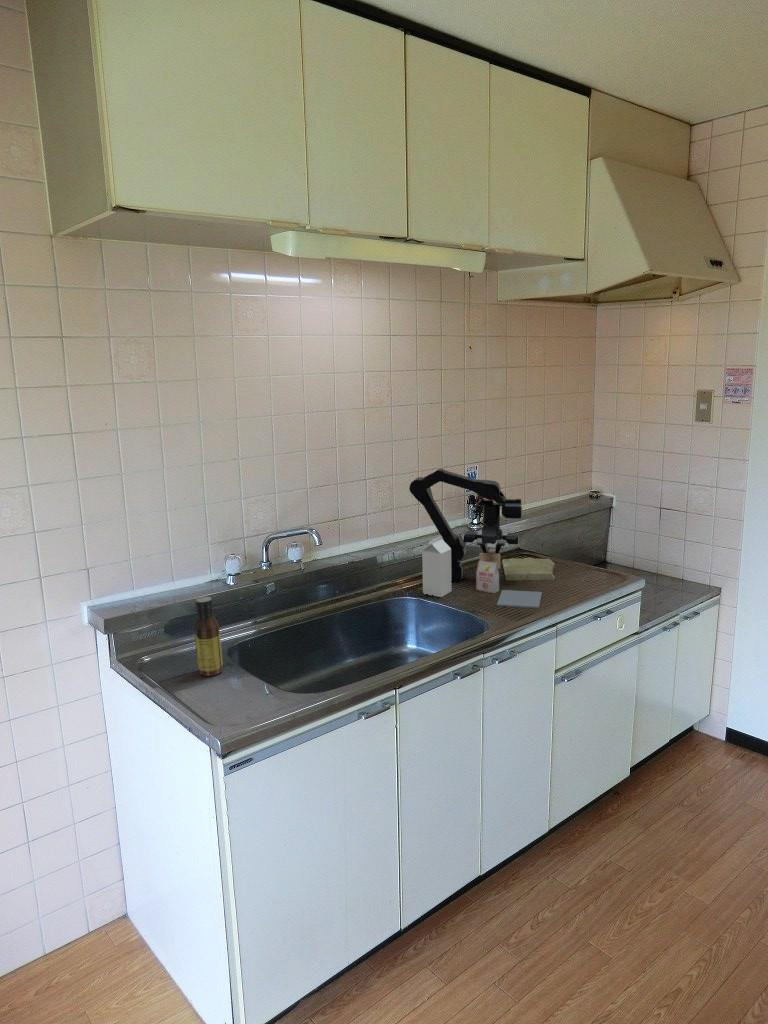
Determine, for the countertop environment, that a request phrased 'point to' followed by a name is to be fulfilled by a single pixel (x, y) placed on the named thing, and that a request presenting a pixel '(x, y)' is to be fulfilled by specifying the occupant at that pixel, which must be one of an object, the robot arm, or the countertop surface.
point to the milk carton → (437, 568)
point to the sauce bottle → (207, 639)
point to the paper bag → (487, 577)
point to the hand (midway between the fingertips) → (491, 561)
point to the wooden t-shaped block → (490, 557)
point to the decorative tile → (528, 569)
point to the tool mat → (520, 599)
